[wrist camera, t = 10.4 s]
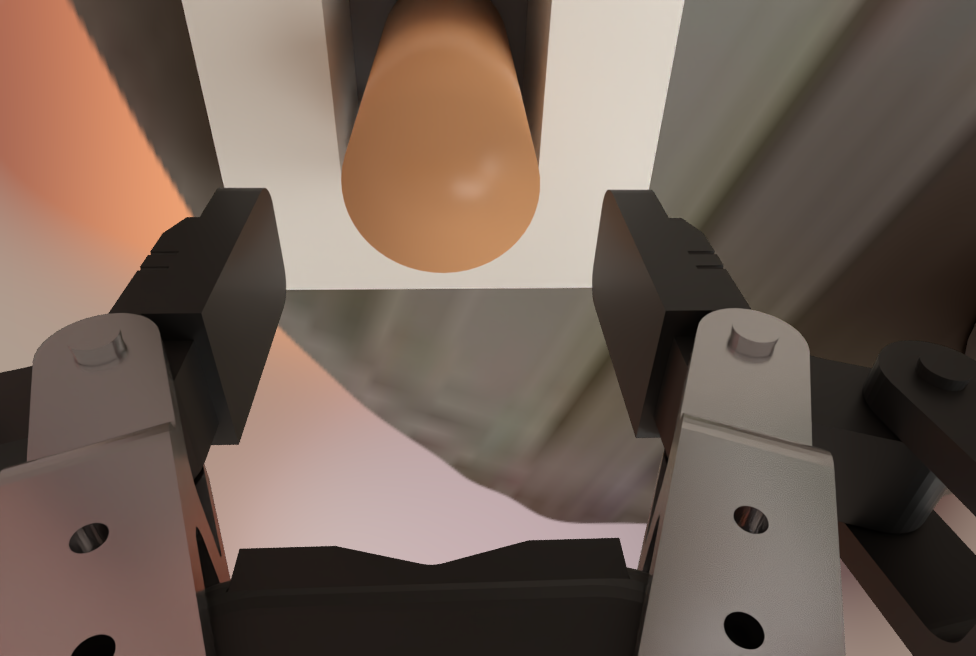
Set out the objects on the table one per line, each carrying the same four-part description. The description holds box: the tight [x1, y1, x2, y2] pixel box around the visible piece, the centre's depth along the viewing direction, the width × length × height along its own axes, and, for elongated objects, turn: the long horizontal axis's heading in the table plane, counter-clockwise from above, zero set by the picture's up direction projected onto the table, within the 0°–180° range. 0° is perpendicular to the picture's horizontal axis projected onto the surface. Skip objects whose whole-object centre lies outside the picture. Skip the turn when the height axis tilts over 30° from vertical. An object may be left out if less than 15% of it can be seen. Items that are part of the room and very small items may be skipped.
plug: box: [341, 0, 540, 273], centre depth 17 cm, size 4×4×10 cm
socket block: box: [182, 0, 684, 290], centre depth 20 cm, size 12×12×6 cm
